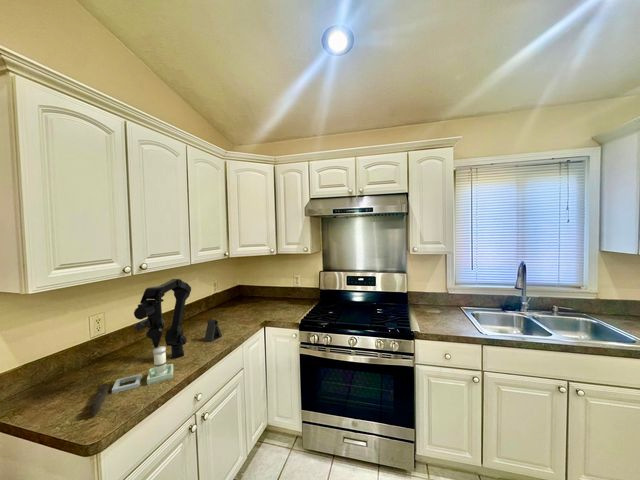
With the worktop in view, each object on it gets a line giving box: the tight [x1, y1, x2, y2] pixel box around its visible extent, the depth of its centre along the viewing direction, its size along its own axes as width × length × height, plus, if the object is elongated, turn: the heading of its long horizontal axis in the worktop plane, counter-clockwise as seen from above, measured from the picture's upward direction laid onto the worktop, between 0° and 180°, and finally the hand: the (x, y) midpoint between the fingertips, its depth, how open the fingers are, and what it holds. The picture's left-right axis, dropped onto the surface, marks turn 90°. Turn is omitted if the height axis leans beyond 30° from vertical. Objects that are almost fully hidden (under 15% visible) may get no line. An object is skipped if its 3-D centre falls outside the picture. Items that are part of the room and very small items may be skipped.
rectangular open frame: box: [111, 373, 143, 394], centre depth 123 cm, size 10×10×2 cm
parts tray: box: [146, 363, 174, 386], centre depth 129 cm, size 11×10×2 cm
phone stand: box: [204, 318, 223, 342], centre depth 173 cm, size 9×6×12 cm, turn 153°
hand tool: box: [90, 383, 111, 418], centre depth 109 cm, size 19×4×5 cm, turn 25°
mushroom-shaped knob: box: [152, 345, 167, 377], centre depth 129 cm, size 5×5×12 cm
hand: (156, 344), depth 135 cm, fingers open, 9 cm apart
